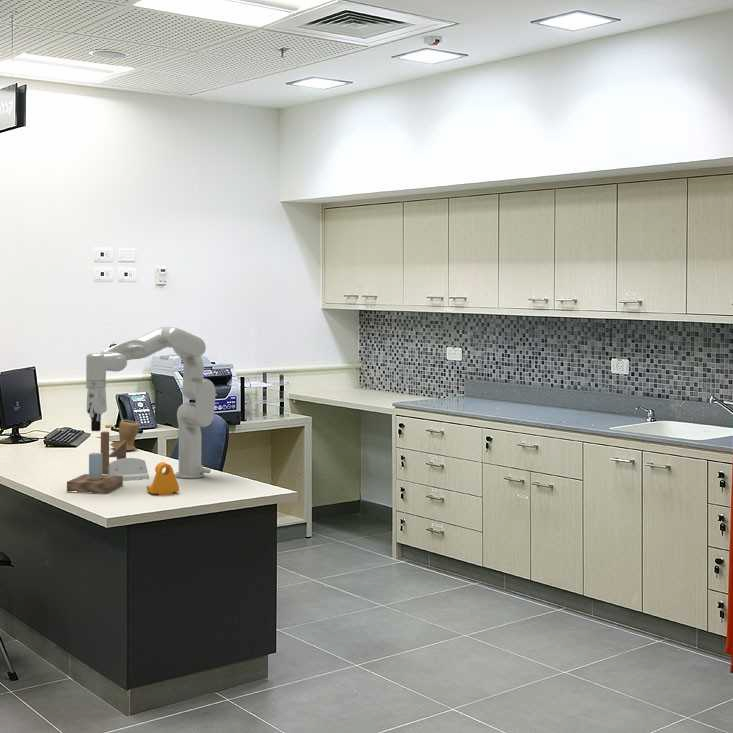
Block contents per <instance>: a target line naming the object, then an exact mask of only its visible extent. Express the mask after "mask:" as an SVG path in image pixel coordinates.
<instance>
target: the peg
mask: <svg viewBox="0 0 733 733" xmlns="http://www.w3.org/2000/svg"><path fill="white" fill-rule="evenodd" d="M88 474H89V480H101V479H102V478H103V477H102V475H103V474H102V453H101V452H91V453H89V454H88Z"/></svg>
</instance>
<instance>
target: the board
mask: <svg viewBox="0 0 733 733" xmlns="http://www.w3.org/2000/svg"><path fill="white" fill-rule="evenodd" d="M102 477H103V478H102V479H101V480H89V473H84V474H82V475H80V476H78V477H75V478H73V479H72V478H71V480H68V481H66V492H67V491H77V492H92V493H91V494H97V493H105V494H104V495H107V493H108V494H110V493H112V492H113V491H115V490H117V489H119V488H120V487H123V486H124V484H123V483H124V481H123V476H116V475H108V474H102Z"/></svg>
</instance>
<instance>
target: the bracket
mask: <svg viewBox="0 0 733 733" xmlns="http://www.w3.org/2000/svg"><path fill="white" fill-rule="evenodd" d="M164 468H165V470H164ZM154 470H155V475H154V478H153V480H152V483H151V485H147V486H146V492H148V493H150V494H152V495H153V494H156V495H158V496H164V495H165V496H166V495H173V493H177V492H179V491H180V486H179V483H178V480H177V477H175V472H174V469H173V467H172V466H171V465H170V464H168V463H166V462H158V463H157V464H156V466H155V468H154ZM163 470H164V472H163Z"/></svg>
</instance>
